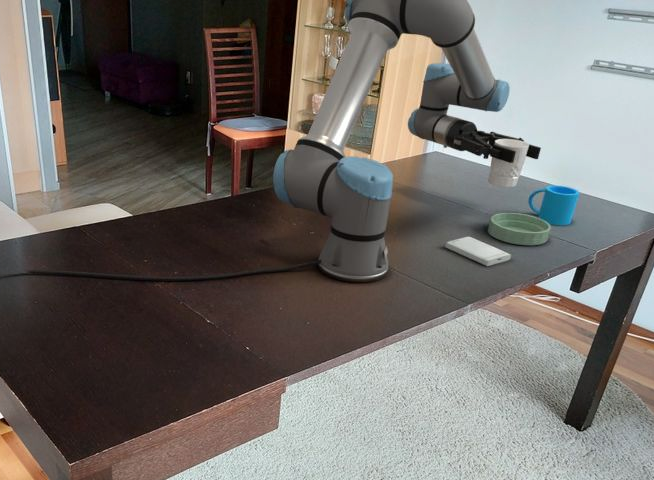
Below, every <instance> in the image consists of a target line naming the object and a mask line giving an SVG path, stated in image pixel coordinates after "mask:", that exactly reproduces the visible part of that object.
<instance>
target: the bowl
mask: <svg viewBox="0 0 654 480" xmlns="http://www.w3.org/2000/svg"><path fill="white" fill-rule="evenodd" d="M551 226H552V224H549V223H548V222H546V221H544V220H542V219H540V218H538V216H534V215H529V214H526V213H519V212H499V213H495V214H492V215H491V216H490V218H489V223H488V226H487V233H488V234H489V235H490V236H491V237H493V238H495V239H497V240H500V241H502V242H505V243H509V244H513V245H520V246H539V245H542V244H545V243H546V242H548V240H549V237H550V234H551V230H552V227H551Z"/></svg>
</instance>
